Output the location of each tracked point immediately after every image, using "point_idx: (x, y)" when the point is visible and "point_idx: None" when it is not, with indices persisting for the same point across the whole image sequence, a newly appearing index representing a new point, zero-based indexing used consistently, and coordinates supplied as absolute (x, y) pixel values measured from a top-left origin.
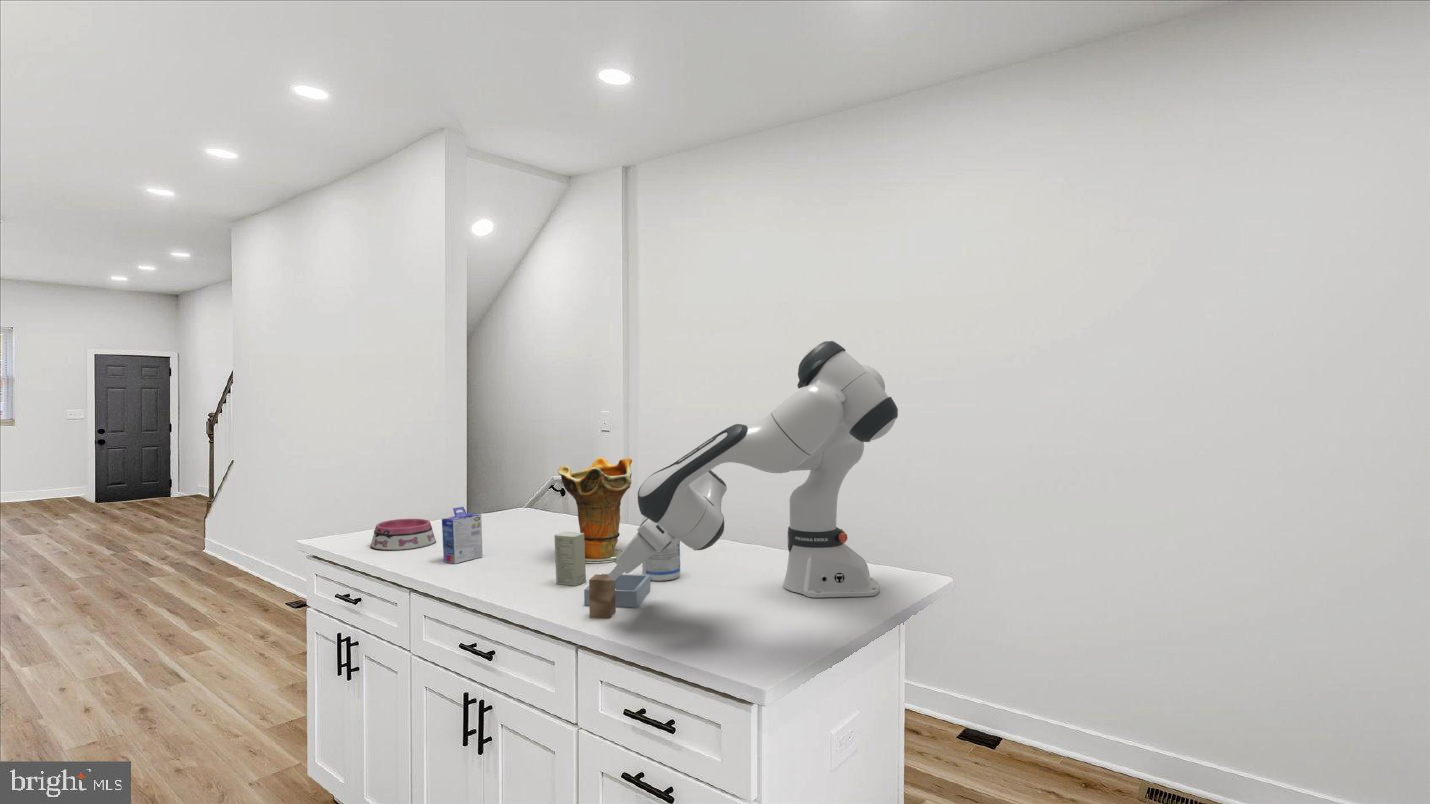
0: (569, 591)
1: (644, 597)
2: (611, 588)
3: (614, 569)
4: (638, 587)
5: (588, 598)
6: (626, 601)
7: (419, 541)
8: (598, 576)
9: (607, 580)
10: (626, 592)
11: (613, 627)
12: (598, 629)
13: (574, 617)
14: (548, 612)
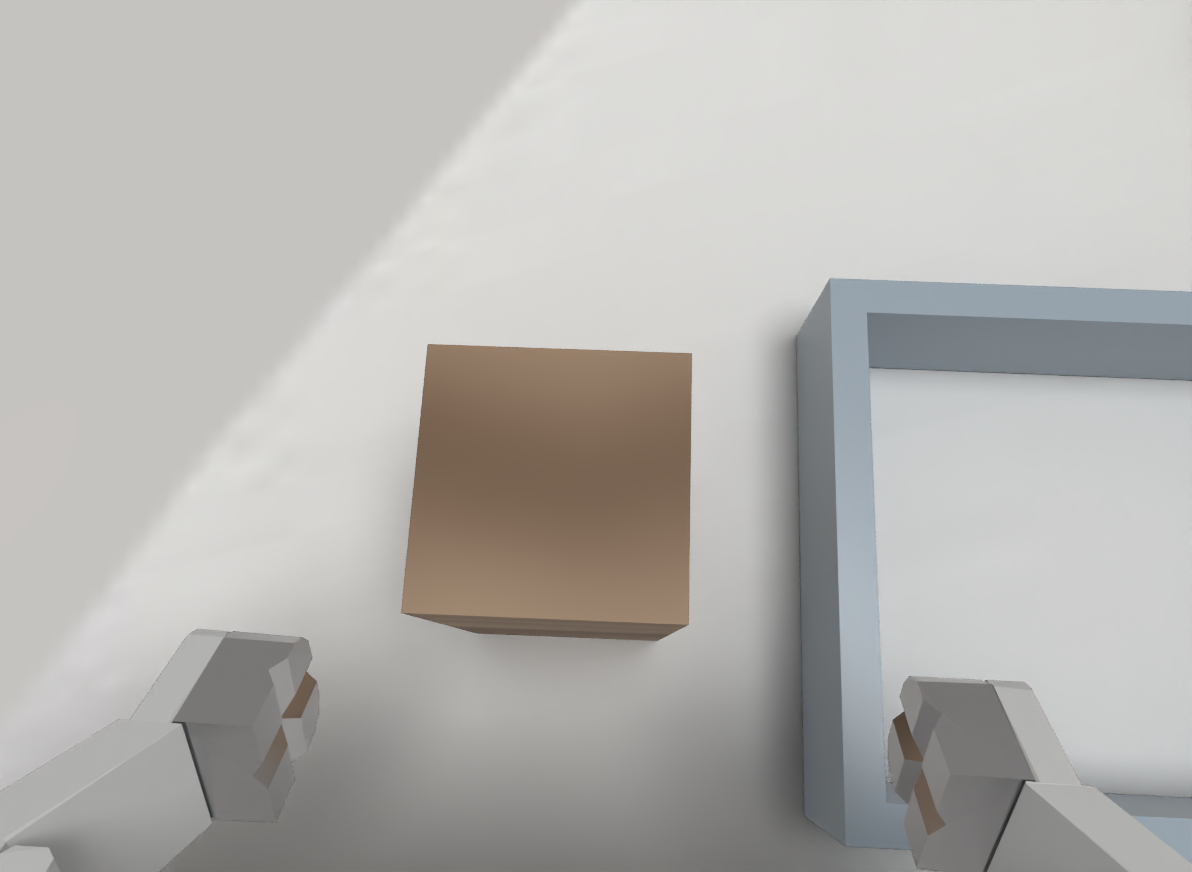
0: (1154, 123)
1: None
2: (503, 623)
3: (87, 749)
4: None
5: (812, 347)
6: (814, 714)
7: None
8: (591, 419)
9: (406, 583)
10: (836, 721)
11: None
12: (202, 602)
13: (494, 340)
14: (602, 127)
